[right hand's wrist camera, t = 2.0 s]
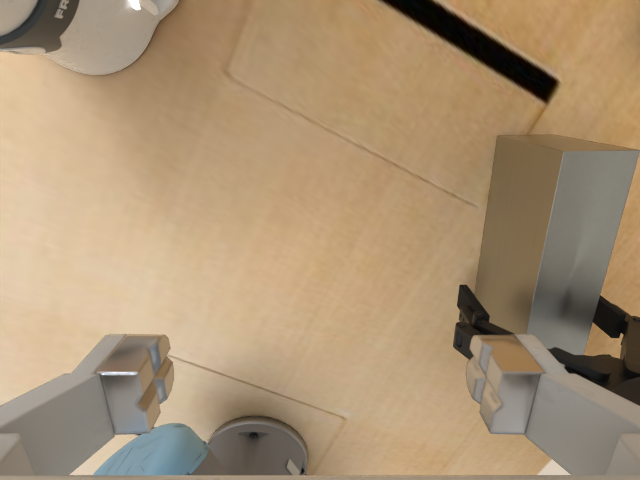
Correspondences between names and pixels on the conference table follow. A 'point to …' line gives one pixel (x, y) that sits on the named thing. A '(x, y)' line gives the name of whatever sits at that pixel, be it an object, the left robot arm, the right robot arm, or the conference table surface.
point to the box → (551, 234)
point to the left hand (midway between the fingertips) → (519, 294)
